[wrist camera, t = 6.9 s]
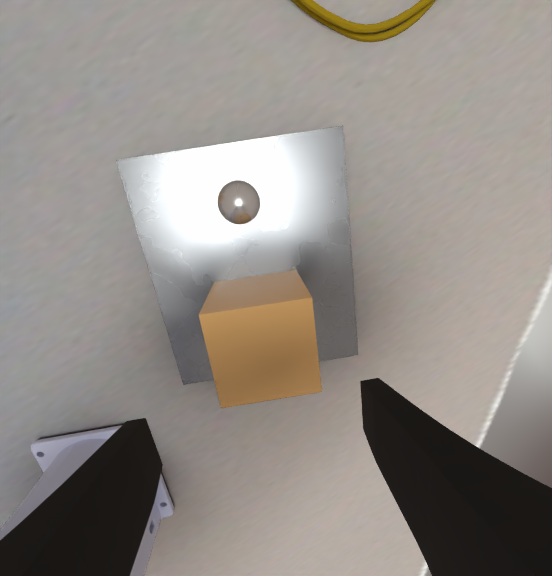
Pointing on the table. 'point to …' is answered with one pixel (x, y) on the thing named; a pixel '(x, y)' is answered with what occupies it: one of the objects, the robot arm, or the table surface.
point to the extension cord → (362, 30)
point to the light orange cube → (261, 338)
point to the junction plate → (246, 231)
